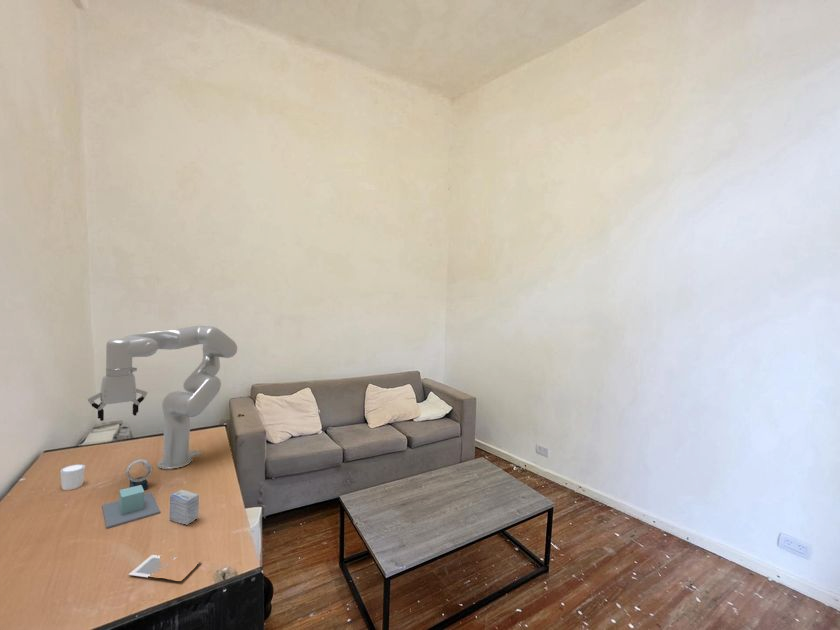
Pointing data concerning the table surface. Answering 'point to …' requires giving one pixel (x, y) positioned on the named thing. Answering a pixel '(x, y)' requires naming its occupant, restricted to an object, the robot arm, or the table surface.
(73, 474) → the white cylinder
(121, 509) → the cube
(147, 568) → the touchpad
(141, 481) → the watch
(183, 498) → the medicine box
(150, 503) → the mat
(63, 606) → the table surface
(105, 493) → the table surface
